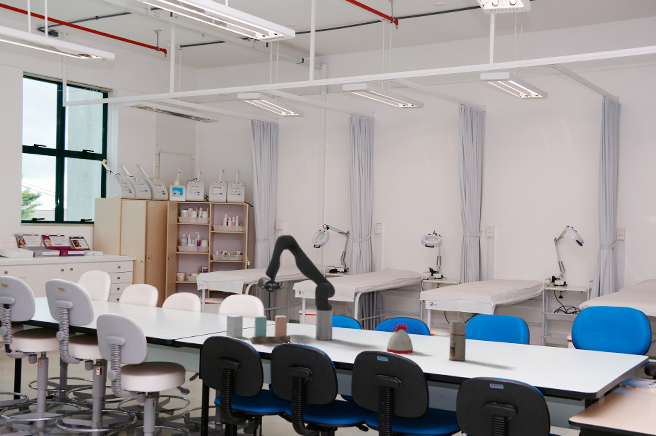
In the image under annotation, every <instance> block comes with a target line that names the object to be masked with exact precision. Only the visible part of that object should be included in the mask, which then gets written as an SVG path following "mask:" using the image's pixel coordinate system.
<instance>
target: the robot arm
mask: <svg viewBox="0 0 656 436" xmlns="http://www.w3.org/2000/svg"><path fill="white" fill-rule="evenodd" d="M287 250H288V251H289V252H290V254H292V255H293V257H294V261H295V266H296V267H297V269H298V270H299V272H300V273H301V274H302V275H303V276H304V277H305V278H307V279H309V280H310V281H311V282H313V283H314V284H315V285H316V287H315V290H314V302H315V307H316V313H315V314H316V317H315V318H316V319H315V321H316V322H315V323H316V324H315V340H318V339H319V341H328V340H330V339H332V340H333V323H332V321H333V320H332V319H333V307H332V305H331V304H330V303H329V299H331V298H333V297H334V296H335V294H336V288H335V286H334V285H333V283H331V281H329V280H328V279H327V278H326V277H325V276H324V275H323V274H322V271H320V269H318V268H317V266H316V265H315V264H314V262H313V261H312V260H311V259H310V257H308V255H307V254H306V253H305V252H304V250H303V249H302V247H301V246H300V244H299V243H298V241H297V240H296V238H294V236H293V235H290V234H281V235H279V236H277V239H276V240H275V245H274V248H273V251H272V255H271V258H270V261H269V264H268V265H267V268H266V270H265V275H266V276H267V277H265V276H261V277H260V278H259V279H258V280H257V285H258V287H259V288H261V290H265V291H266V292H268V293H273V292H275V291H276V290H282V289H283V284H278V283H277V282H276V277H277V274H278V272H279V270H280V267H281V256H282V254H283V252H284V251H287ZM330 341H331V340H330Z"/></svg>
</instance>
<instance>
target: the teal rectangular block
mask: <svg viewBox="0 0 656 436" xmlns="http://www.w3.org/2000/svg"><path fill="white" fill-rule="evenodd" d="M267 319H268V318H267V316H266V315H255V316H254V335H253V337H265V336H267V322H268V321H267Z"/></svg>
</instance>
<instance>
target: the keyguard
mask: <svg viewBox="0 0 656 436" xmlns="http://www.w3.org/2000/svg"><path fill="white" fill-rule="evenodd" d="M249 341H250V343H251V344H253V345H254V344H257V345H258V344H259V345H260V344H262V345H263V344H264V345H265V344H268V345H269V344H275V345H276V344H291V336H290V335H287V336H275V335H273V336H270V335H269V336H268V335H266V336H265V337H254V336H252V337H249ZM288 342H289V343H288Z"/></svg>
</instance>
